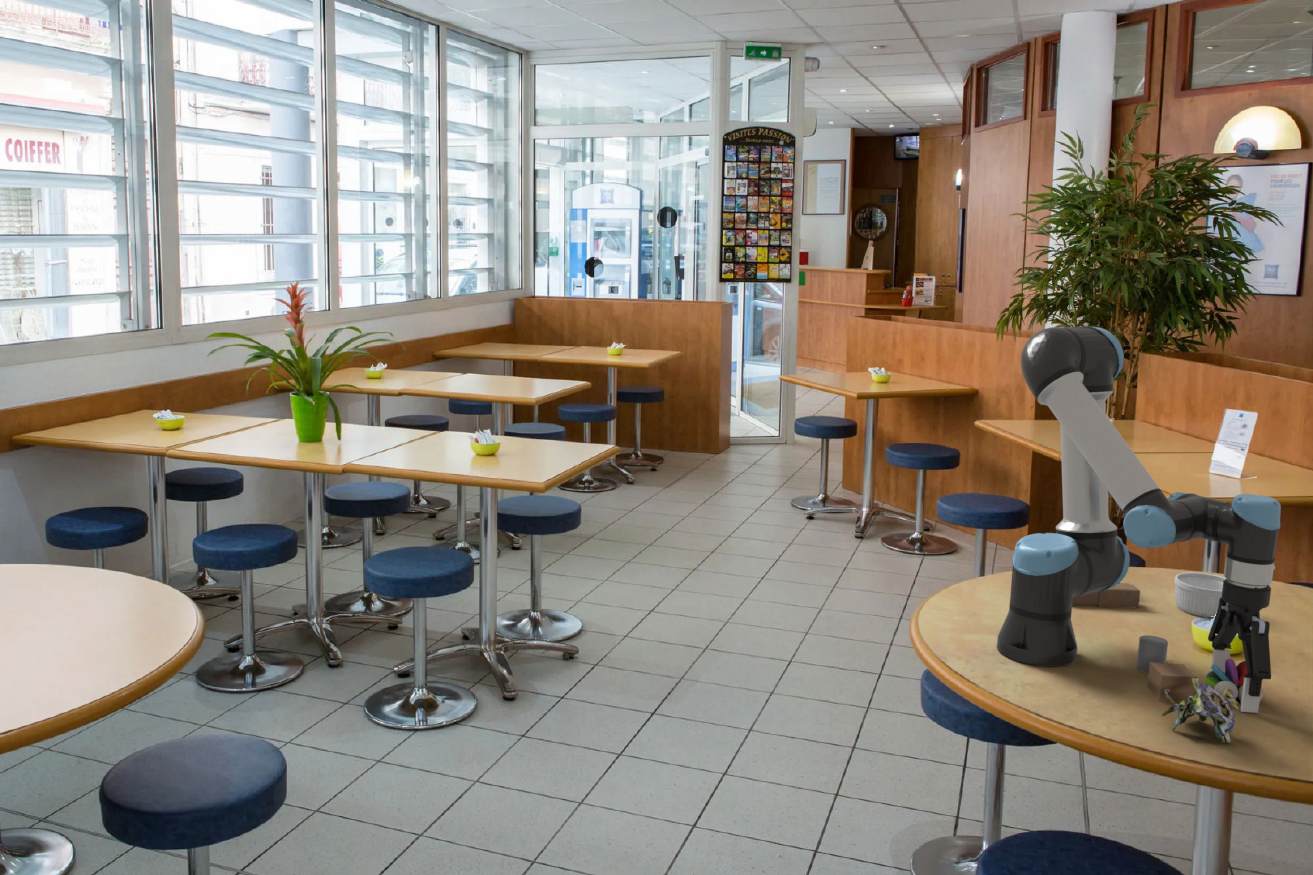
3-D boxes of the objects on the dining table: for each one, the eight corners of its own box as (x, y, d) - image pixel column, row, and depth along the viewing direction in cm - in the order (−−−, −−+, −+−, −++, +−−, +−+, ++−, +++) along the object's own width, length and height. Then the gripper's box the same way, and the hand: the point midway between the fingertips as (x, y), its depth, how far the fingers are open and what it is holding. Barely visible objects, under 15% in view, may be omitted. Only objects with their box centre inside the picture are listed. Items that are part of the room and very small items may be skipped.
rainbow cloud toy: (1268, 710, 189) (1274, 671, 187) (1209, 704, 191) (1214, 665, 189) (1252, 691, 197) (1257, 653, 196) (1196, 685, 199) (1200, 648, 197)
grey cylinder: (1141, 673, 203) (1145, 644, 202) (1132, 663, 208) (1135, 634, 207) (1168, 675, 203) (1172, 645, 202) (1158, 665, 208) (1161, 636, 207)
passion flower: (1219, 771, 177) (1245, 736, 168) (1150, 747, 180) (1172, 712, 171) (1225, 715, 184) (1250, 678, 175) (1158, 693, 187) (1179, 656, 178)
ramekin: (1246, 622, 234) (1249, 592, 233) (1182, 618, 236) (1185, 588, 235) (1224, 603, 247) (1227, 574, 245) (1164, 599, 249) (1167, 570, 247)
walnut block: (1159, 701, 191) (1162, 675, 190) (1147, 687, 197) (1149, 662, 196) (1193, 703, 191) (1196, 677, 190) (1180, 689, 197) (1183, 664, 196)
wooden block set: (1145, 586, 241) (1064, 583, 241) (1142, 610, 242) (1062, 607, 242) (1117, 563, 257) (1041, 561, 258) (1114, 586, 258) (1039, 583, 259)
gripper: (1304, 604, 177) (1288, 726, 181) (1237, 563, 201) (1224, 672, 205) (1258, 602, 178) (1242, 724, 182) (1196, 561, 201) (1184, 670, 205)
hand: (1232, 697), depth 193 cm, fingers open, 12 cm apart
